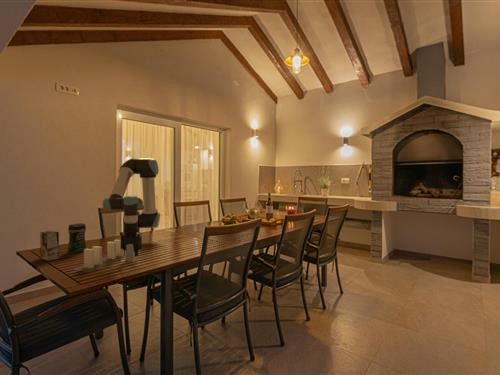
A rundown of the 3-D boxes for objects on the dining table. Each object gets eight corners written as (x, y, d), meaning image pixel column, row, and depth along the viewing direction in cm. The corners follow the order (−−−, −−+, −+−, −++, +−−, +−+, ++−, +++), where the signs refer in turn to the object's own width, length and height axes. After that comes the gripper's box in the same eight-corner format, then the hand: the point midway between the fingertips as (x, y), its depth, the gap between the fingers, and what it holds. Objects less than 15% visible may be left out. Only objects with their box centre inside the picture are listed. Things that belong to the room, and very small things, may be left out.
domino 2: (94, 263, 150) (94, 246, 149) (102, 264, 149) (101, 246, 148) (92, 264, 148) (92, 246, 148) (99, 265, 147) (99, 247, 147)
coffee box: (59, 258, 159) (59, 232, 159) (47, 261, 154) (46, 233, 153) (52, 255, 164) (52, 230, 163) (40, 258, 158) (39, 232, 158)
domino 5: (128, 260, 157) (128, 244, 156) (135, 261, 155) (135, 244, 155) (126, 261, 155) (126, 244, 155) (133, 262, 154) (133, 245, 153)
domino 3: (109, 257, 161) (109, 241, 160) (116, 258, 159) (116, 242, 159) (107, 258, 159) (107, 242, 159) (114, 259, 158) (114, 242, 157)
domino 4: (116, 255, 166) (115, 239, 166) (122, 255, 165) (122, 240, 164) (114, 255, 164) (114, 240, 164) (120, 256, 163) (120, 240, 163)
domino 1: (86, 266, 145) (86, 248, 144) (94, 267, 143) (94, 249, 143) (84, 267, 143) (84, 249, 143) (91, 268, 142) (91, 250, 141)
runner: (113, 254, 168) (113, 253, 168) (129, 256, 166) (129, 255, 165) (71, 270, 139) (71, 269, 139) (89, 272, 136) (89, 272, 136)
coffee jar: (72, 254, 168) (72, 225, 167) (66, 252, 172) (65, 224, 171) (88, 250, 176) (88, 223, 175) (81, 248, 180) (81, 222, 179)
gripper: (113, 222, 153) (113, 261, 154) (140, 224, 148) (139, 264, 149) (122, 220, 160) (122, 257, 161) (148, 222, 156) (148, 260, 157)
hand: (130, 261), depth 155 cm, fingers closed on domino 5, 5 cm apart
